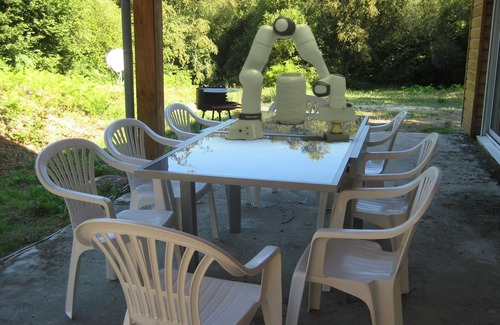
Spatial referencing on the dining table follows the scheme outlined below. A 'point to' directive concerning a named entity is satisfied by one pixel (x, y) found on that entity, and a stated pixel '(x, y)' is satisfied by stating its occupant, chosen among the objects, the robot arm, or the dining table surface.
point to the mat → (312, 138)
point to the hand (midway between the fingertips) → (336, 129)
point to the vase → (291, 98)
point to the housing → (336, 136)
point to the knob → (336, 127)
